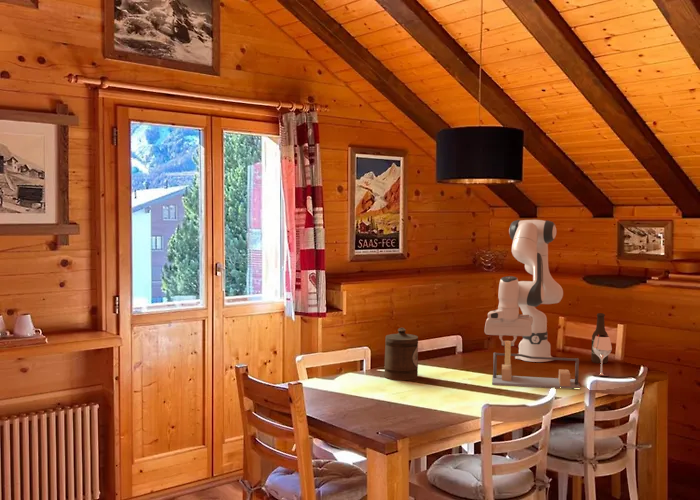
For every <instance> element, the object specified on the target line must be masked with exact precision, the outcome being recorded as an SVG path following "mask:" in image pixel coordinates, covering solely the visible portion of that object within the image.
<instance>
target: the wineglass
mask: <svg viewBox="0 0 700 500" xmlns="http://www.w3.org/2000/svg"><path fill="white" fill-rule="evenodd" d="M592 348H593V351H594V353H595V354H596V355H597V356H598V357H599V358H600V360H601V364H600V374H599V375H604V374H605V373H603V359H604V358H605V357H606V356H608V357H609V355H610V354H611V352H612V349H613V348H612V342H611V338H610V336H609V335H608V336H607V335H596V336H595V339H594V343H593V347H592V346H591V349H592Z"/></svg>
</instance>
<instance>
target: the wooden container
mask: <svg viewBox="0 0 700 500" xmlns="http://www.w3.org/2000/svg"><path fill="white" fill-rule="evenodd" d="M384 340H385V342H384V344H385V345H384V347H385V348H384V378H386V379H389V380H393V381H411V380H415V379H417V378H418V375H419V373H418V371H419V370H418V369H419V336H418V335H417V334H416V335H415V334H410V333H406V328H404V327H400V328H398V329H397V333H391V334H386V335H385V339H384Z"/></svg>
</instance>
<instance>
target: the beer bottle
mask: <svg viewBox="0 0 700 500" xmlns="http://www.w3.org/2000/svg"><path fill="white" fill-rule="evenodd" d="M605 316H606V314H605V313H603V312H602V313H601V312H599V313H597V314H596V317H597V318H596V327H595V330H594V331H593V333H592V335H591V336H592V337H591V351H590V353H591V354H590V355H591V356H590V357H591V358H590V359H591V363H594V364H599V363H601V360H600V358H599V357H598V356H597V355H596V354H595V353H594V351H593V348H592V347H593V343H594V339H595V336H596V335H607V336H609V334H608V332H607V331H606V326H605V324H606V323H605ZM607 362H608V363H609V355H608V356H606V357H605V358H604V359H603V363H605V364H607Z"/></svg>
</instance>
